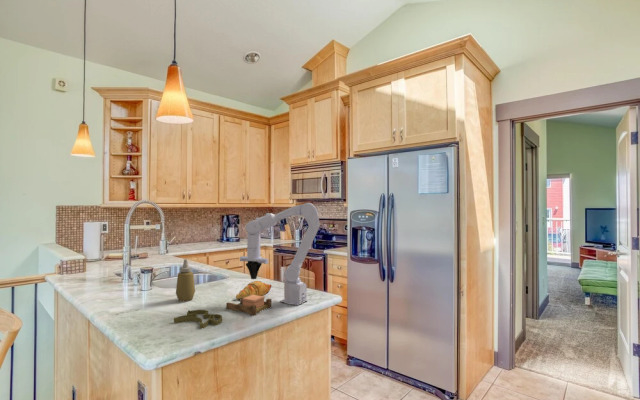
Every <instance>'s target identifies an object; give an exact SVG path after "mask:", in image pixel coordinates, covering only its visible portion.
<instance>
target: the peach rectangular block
mask: <svg viewBox="0 0 640 400" xmlns="http://www.w3.org/2000/svg"><path fill="white" fill-rule="evenodd" d="M264 301H265V296H264V295H263V296H257V295H251V296H248V297H245V298H243V305H244V306H249V307H250V306H252V305H256V308H258V307H261V306H263V305H264Z"/></svg>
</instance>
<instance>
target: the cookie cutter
mask: <svg viewBox="0 0 640 400" xmlns="http://www.w3.org/2000/svg"><path fill="white" fill-rule="evenodd" d="M198 315H203V319H204V320H206V321H205V322H203V319H202V317H199V316H198ZM222 321H223V315H222V314H219V313H209V310H207V309H206V310H205V309H192V310H187V311H186V314H185V315H180V316H176V317H173V323H174V324H179V323H186V322H196V323H199V329H202V328H203V329H205V328H206V327H207V326H209V324H210V325H213V326H218V325H220V324H221V323H222Z"/></svg>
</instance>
